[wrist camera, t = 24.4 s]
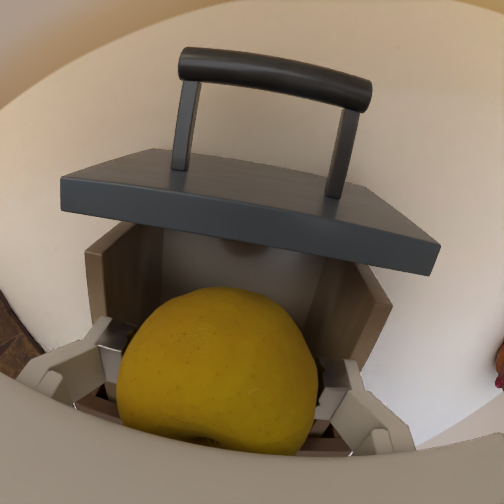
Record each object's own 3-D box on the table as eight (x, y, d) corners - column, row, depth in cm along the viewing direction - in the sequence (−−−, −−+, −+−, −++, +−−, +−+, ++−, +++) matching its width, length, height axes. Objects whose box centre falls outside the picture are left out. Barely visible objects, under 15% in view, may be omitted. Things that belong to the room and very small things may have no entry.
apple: (335, 309, 13) (381, 479, 5) (240, 382, 15) (225, 525, 8) (221, 212, 11) (146, 375, 4) (137, 312, 13) (60, 454, 6)
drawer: (163, 67, 14) (77, 29, 6) (383, 107, 15) (478, 103, 7) (146, 352, 23) (107, 440, 14) (300, 379, 23) (308, 475, 15)
